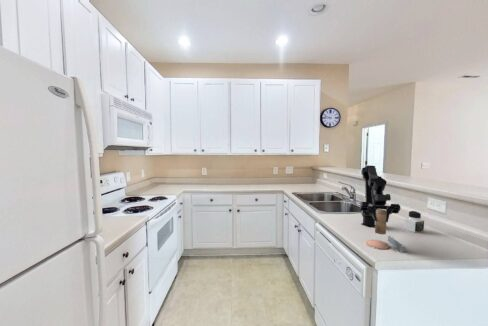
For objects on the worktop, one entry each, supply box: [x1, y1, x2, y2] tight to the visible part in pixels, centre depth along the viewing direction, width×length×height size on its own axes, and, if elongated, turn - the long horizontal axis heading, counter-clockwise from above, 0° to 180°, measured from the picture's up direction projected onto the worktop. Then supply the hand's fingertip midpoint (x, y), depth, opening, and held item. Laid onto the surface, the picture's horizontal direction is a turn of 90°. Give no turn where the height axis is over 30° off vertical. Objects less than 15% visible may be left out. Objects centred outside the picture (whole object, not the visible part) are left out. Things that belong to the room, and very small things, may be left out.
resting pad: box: [365, 239, 390, 250], centre depth 124 cm, size 11×11×1 cm
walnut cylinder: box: [374, 209, 387, 235], centre depth 123 cm, size 5×5×12 cm
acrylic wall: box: [387, 235, 406, 253], centre depth 122 cm, size 14×1×3 cm, turn 174°
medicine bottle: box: [404, 210, 425, 234], centre depth 146 cm, size 7×7×12 cm
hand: (381, 221), depth 122 cm, fingers closed on walnut cylinder, 5 cm apart
